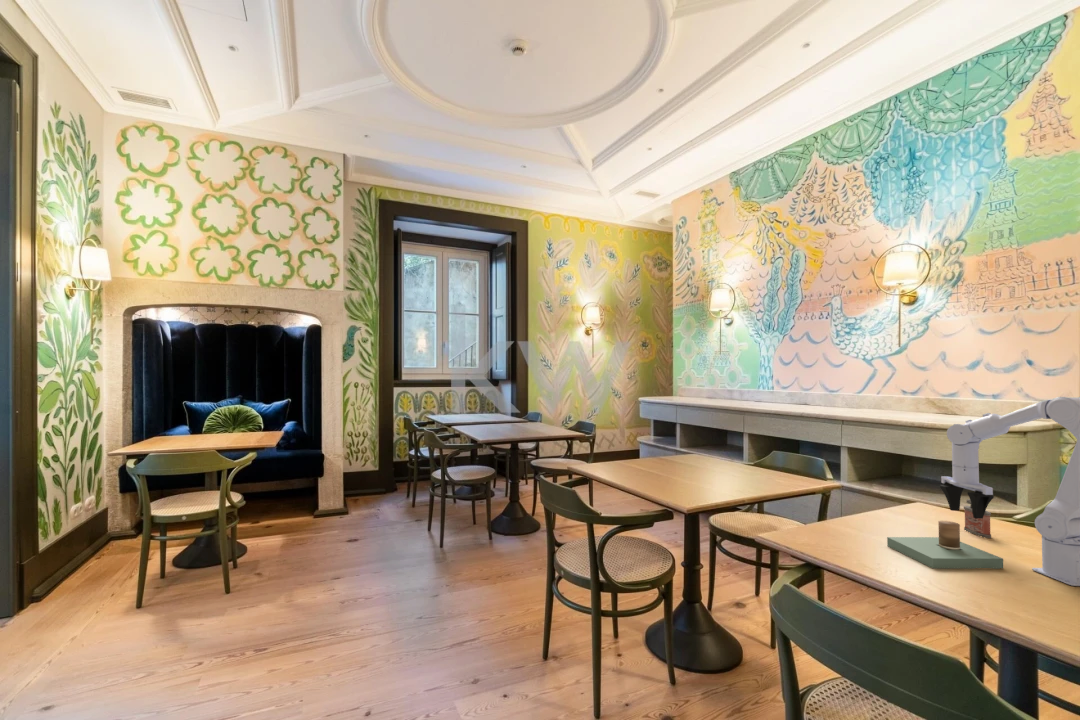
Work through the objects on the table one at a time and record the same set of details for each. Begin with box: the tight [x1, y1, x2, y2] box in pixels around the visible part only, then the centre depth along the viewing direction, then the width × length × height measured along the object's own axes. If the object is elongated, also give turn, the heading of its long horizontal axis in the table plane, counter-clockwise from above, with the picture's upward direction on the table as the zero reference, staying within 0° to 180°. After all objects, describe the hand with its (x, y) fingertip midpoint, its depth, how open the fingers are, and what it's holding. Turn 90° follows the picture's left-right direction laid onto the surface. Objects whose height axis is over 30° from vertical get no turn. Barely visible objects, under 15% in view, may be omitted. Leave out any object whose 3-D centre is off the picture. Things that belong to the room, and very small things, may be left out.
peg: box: [938, 520, 961, 550], centre depth 131 cm, size 4×4×9 cm
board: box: [886, 536, 1004, 570], centre depth 131 cm, size 16×18×2 cm
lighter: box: [963, 498, 992, 539], centre depth 151 cm, size 8×3×10 cm, turn 179°
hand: (966, 514), depth 139 cm, fingers open, 7 cm apart
